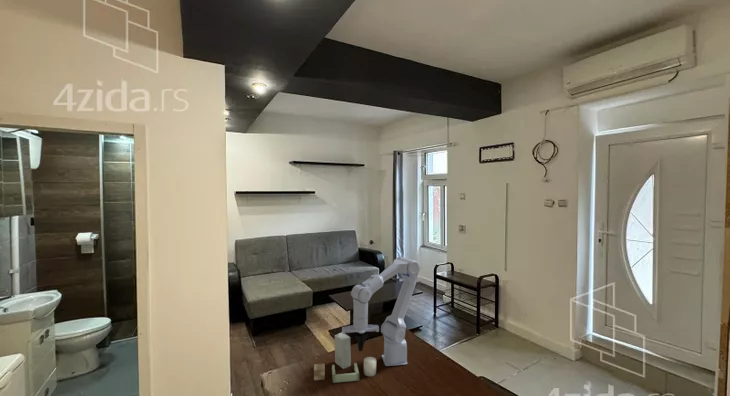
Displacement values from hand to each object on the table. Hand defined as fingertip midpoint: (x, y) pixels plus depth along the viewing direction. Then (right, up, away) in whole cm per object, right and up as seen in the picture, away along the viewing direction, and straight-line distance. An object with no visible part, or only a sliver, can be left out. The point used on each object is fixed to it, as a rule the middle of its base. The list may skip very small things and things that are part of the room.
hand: (360, 349), depth 120 cm
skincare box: (-8, -9, +6) cm, 13 cm away
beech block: (-16, -9, -2) cm, 19 cm away
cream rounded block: (+4, -10, +1) cm, 10 cm away
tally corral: (-6, -9, -2) cm, 11 cm away
